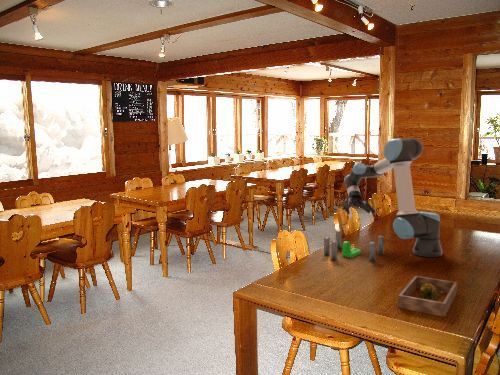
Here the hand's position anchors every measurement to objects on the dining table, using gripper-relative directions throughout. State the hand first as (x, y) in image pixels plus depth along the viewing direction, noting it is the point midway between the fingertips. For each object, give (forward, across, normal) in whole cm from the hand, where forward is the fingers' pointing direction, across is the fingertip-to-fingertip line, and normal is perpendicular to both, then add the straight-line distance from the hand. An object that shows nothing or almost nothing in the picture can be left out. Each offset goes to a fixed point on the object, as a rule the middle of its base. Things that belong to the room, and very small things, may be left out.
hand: (361, 219), depth 261 cm
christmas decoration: (+77, +2, +33) cm, 83 cm away
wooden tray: (+77, +3, +33) cm, 84 cm away
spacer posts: (+23, +8, -7) cm, 25 cm away
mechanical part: (+20, +7, -9) cm, 23 cm away
